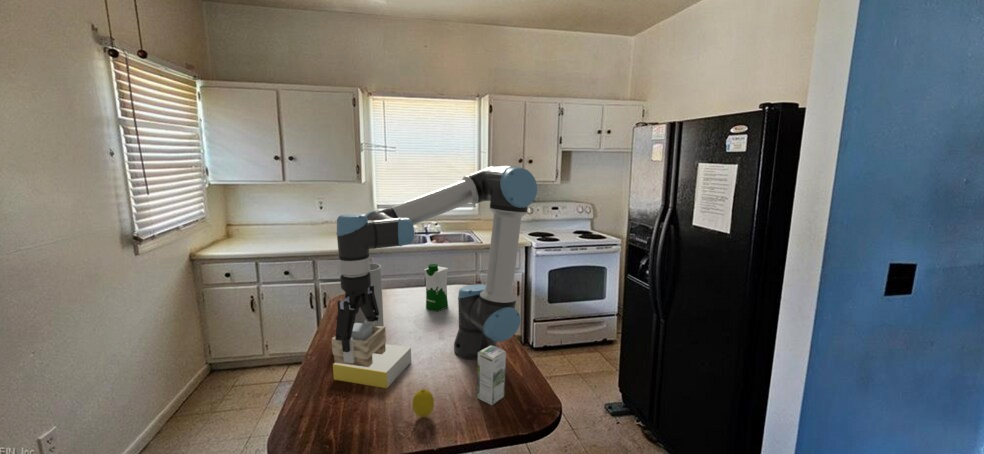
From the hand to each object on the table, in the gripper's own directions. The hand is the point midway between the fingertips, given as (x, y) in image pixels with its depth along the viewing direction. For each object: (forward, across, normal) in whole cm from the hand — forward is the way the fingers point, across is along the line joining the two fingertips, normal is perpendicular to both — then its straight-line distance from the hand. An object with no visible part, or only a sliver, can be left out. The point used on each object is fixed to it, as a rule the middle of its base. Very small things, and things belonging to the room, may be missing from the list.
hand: (360, 352), depth 113 cm
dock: (+16, -17, -6) cm, 24 cm away
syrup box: (+16, -12, +34) cm, 39 cm away
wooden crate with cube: (+1, 0, 0) cm, 1 cm away
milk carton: (+16, -72, -7) cm, 74 cm away
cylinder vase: (+16, -44, -25) cm, 53 cm away
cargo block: (-3, 0, 0) cm, 3 cm away
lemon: (+16, +1, +18) cm, 24 cm away
